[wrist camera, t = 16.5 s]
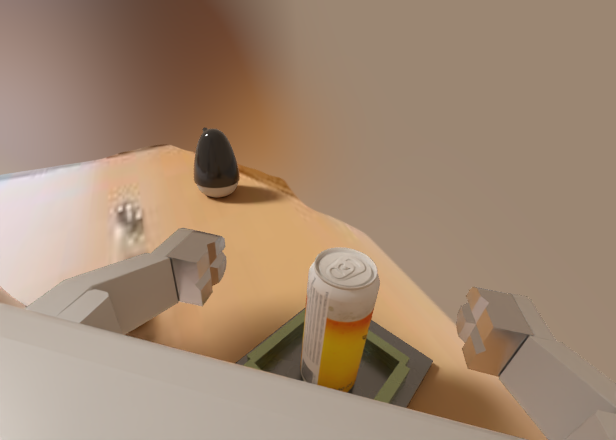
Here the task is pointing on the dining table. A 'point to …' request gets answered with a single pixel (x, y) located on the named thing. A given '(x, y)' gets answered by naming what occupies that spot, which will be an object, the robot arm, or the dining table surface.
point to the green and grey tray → (372, 370)
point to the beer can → (337, 317)
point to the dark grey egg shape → (215, 164)
